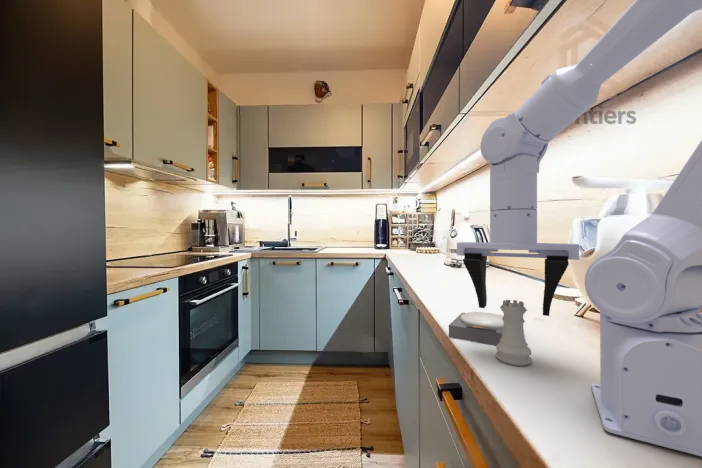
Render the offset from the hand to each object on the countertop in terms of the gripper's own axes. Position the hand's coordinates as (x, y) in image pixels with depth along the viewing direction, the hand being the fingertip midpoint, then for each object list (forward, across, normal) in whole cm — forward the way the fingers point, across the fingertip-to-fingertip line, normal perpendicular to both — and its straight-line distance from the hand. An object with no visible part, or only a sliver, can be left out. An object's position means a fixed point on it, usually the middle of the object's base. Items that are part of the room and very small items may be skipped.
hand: (512, 310), depth 42 cm
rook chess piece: (+7, 0, 0) cm, 7 cm away
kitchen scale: (+7, +5, -10) cm, 13 cm away
